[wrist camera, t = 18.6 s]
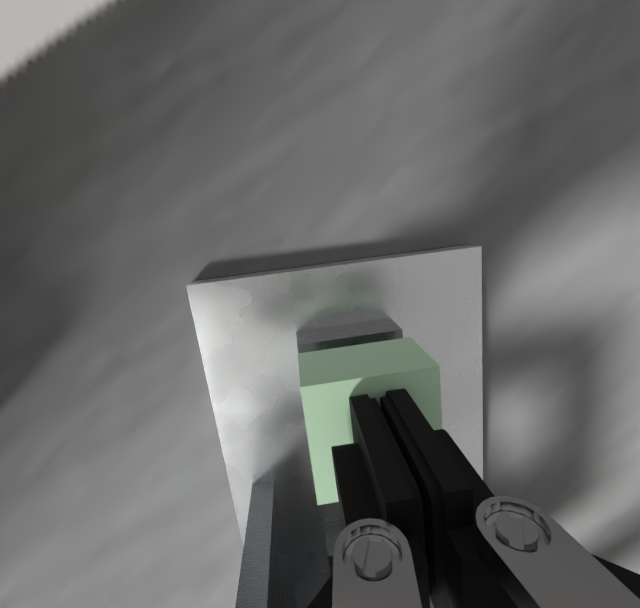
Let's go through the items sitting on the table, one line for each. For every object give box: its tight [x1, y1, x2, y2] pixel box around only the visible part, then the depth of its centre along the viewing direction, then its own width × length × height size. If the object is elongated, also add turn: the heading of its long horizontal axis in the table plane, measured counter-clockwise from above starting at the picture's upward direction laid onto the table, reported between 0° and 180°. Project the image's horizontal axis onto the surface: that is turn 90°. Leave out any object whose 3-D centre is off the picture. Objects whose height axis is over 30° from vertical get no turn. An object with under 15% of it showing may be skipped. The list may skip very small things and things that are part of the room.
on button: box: [298, 337, 442, 505], centre depth 12 cm, size 4×4×4 cm
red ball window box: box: [186, 244, 483, 608], centre depth 13 cm, size 12×20×9 cm, turn 7°
